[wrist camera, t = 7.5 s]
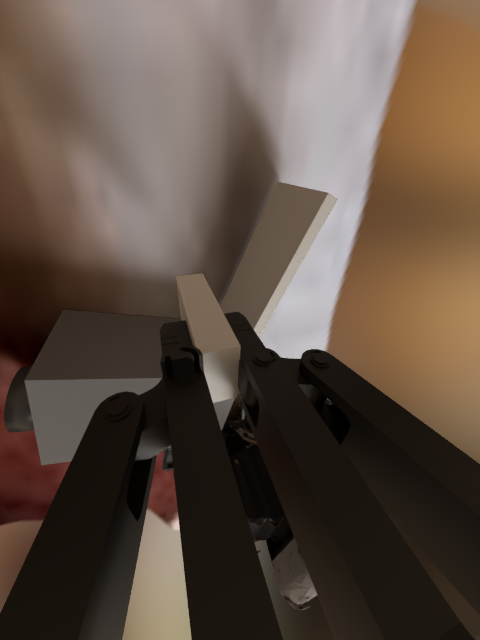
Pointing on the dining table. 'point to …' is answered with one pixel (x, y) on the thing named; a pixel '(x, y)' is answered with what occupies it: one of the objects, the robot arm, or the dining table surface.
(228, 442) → the vintage camera
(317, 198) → the side door
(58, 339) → the cabinet with round knob
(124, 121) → the dining table surface
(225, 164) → the dining table surface
